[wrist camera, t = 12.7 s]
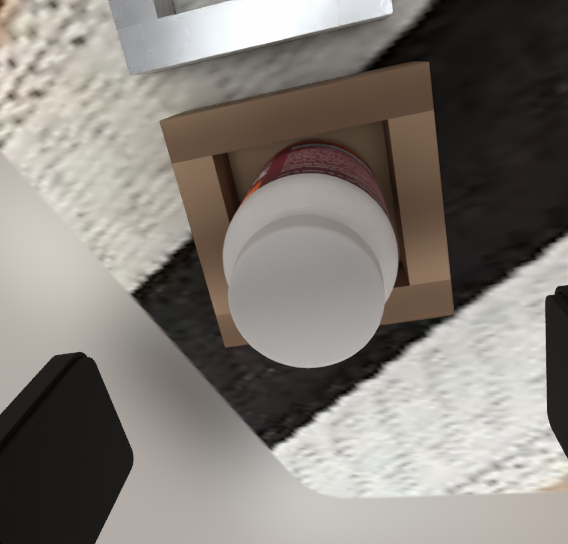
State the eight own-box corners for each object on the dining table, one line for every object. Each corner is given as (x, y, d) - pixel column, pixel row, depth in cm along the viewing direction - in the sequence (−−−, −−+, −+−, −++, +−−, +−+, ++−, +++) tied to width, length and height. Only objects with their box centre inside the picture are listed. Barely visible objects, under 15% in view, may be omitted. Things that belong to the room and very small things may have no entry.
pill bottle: (253, 134, 24) (197, 191, 14) (385, 139, 24) (426, 201, 14) (253, 257, 27) (205, 381, 17) (373, 263, 26) (400, 395, 16)
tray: (184, 111, 25) (159, 121, 21) (413, 61, 23) (429, 62, 20) (238, 310, 29) (225, 347, 25) (437, 279, 27) (453, 314, 24)
